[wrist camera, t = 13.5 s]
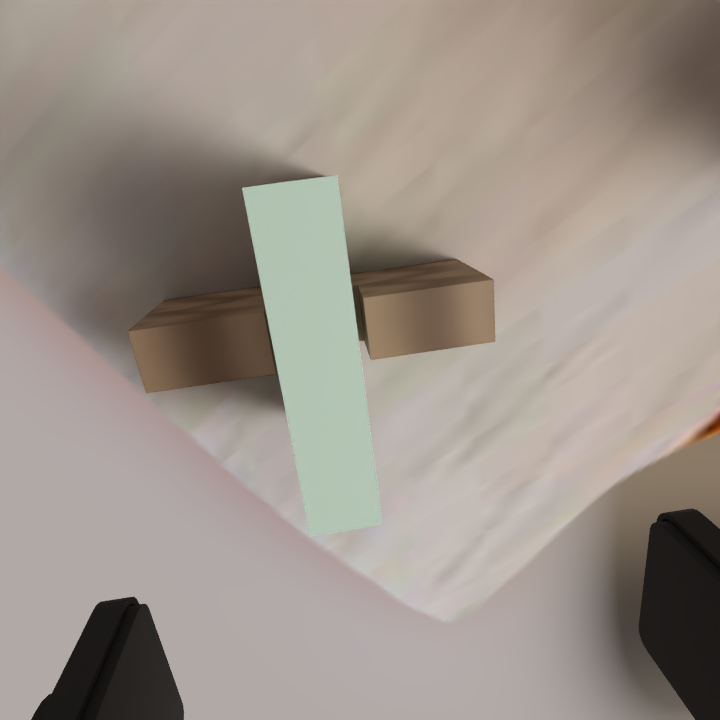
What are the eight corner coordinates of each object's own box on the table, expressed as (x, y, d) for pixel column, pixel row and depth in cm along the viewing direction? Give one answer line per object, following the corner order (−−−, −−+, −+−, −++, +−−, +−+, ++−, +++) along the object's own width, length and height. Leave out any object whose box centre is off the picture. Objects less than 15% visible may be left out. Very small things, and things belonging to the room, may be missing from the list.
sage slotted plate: (268, 183, 35) (242, 187, 21) (325, 176, 35) (337, 175, 21) (309, 414, 41) (310, 536, 27) (357, 406, 41) (382, 524, 27)
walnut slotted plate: (177, 351, 38) (146, 393, 31) (164, 300, 37) (127, 331, 29) (459, 310, 39) (495, 341, 32) (457, 259, 38) (493, 279, 30)
